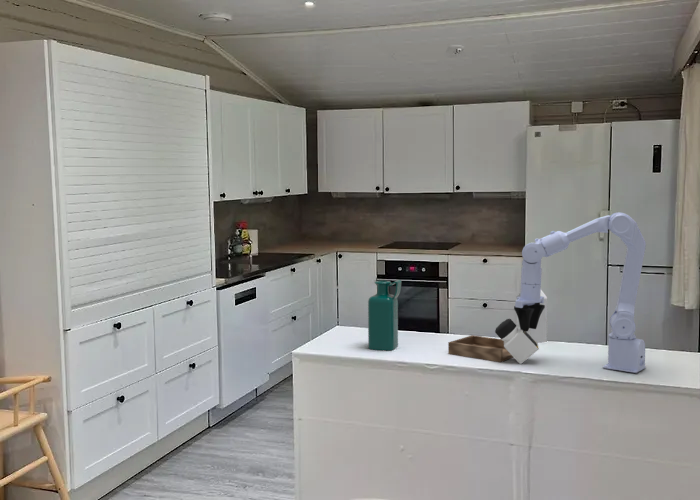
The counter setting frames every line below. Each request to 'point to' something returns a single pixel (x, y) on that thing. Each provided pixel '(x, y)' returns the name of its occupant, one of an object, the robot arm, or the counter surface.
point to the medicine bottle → (516, 340)
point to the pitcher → (383, 317)
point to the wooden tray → (480, 348)
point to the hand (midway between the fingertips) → (528, 329)
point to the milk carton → (541, 330)
